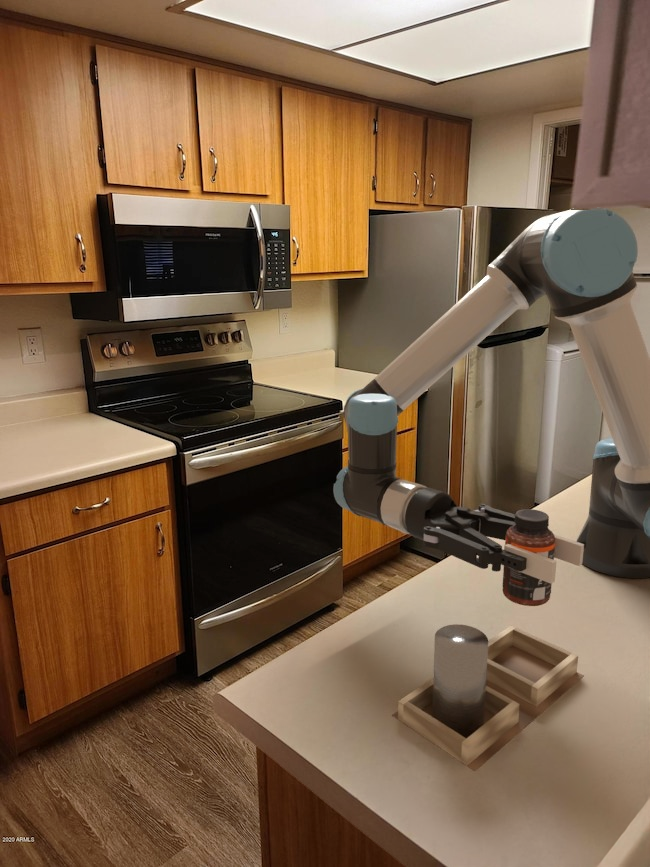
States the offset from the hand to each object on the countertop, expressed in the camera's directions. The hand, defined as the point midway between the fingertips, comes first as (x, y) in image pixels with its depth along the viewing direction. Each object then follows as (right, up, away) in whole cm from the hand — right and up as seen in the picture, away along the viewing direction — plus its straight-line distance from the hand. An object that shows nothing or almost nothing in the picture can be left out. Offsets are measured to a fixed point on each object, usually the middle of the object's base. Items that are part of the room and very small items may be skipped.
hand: (567, 563), depth 76 cm
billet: (-13, -19, -1) cm, 23 cm away
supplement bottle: (-3, -6, +5) cm, 8 cm away
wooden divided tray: (-8, -18, +4) cm, 20 cm away
